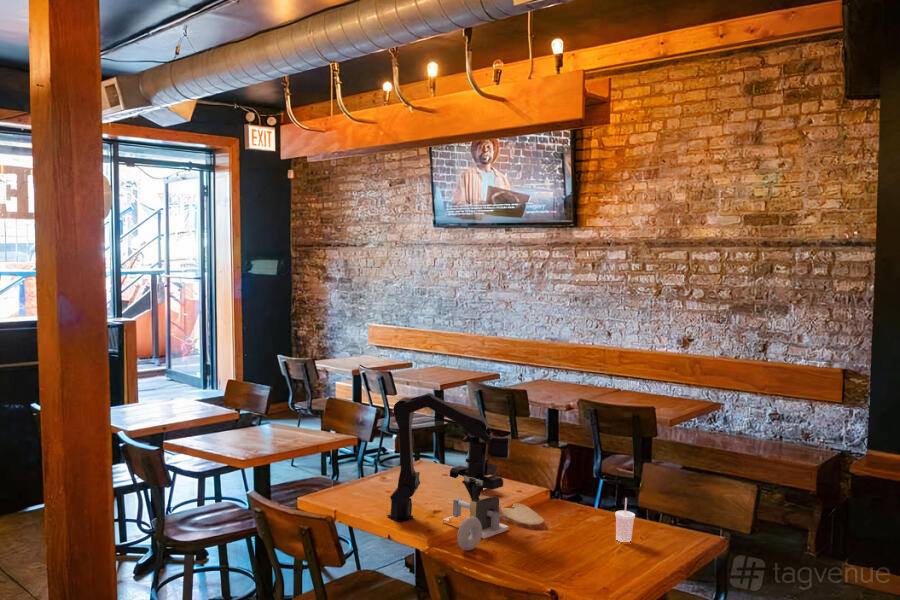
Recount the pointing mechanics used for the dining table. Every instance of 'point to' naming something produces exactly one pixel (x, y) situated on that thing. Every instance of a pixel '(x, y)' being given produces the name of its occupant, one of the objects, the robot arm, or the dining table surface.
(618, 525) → the beverage cup
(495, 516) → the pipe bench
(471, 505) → the olive brown square block
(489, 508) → the dark gray square plate
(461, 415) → the robot arm
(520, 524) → the bread slice
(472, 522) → the grey wheel
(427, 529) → the dining table surface
